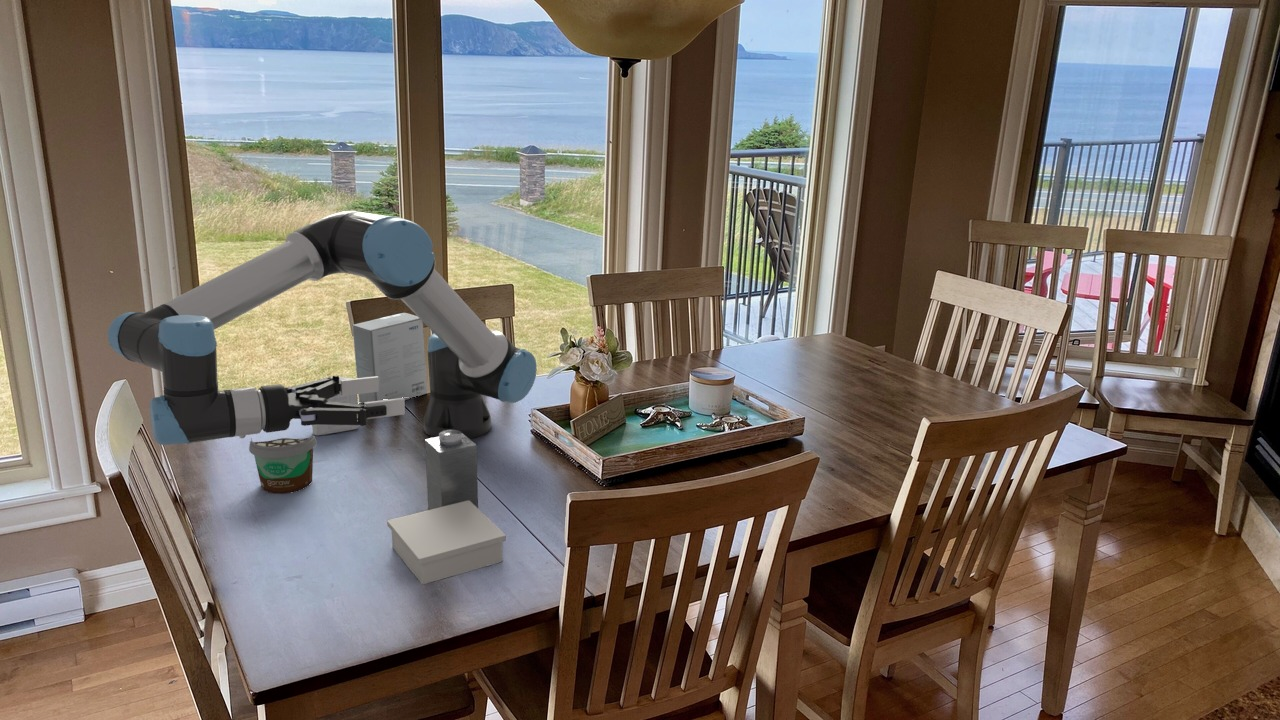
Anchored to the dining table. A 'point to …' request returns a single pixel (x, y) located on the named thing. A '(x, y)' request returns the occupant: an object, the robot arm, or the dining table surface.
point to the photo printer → (337, 428)
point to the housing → (451, 469)
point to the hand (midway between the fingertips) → (390, 394)
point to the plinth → (446, 541)
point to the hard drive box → (391, 356)
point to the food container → (284, 463)
